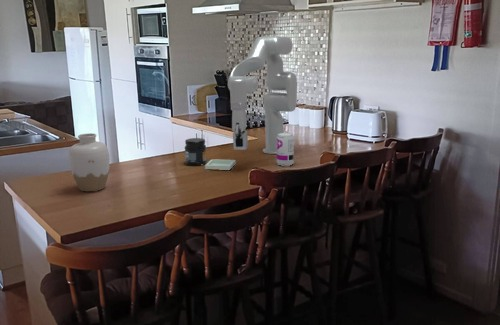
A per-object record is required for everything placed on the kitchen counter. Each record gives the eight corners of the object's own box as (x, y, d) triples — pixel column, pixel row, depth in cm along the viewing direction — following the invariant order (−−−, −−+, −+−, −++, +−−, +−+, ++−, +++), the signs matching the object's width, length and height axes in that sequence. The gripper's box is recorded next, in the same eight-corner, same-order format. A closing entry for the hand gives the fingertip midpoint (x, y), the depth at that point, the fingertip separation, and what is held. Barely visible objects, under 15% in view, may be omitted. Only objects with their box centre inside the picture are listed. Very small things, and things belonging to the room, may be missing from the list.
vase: (98, 181, 213) (93, 130, 208) (119, 187, 203) (115, 133, 198) (64, 190, 201) (58, 136, 196) (86, 197, 192) (80, 140, 186)
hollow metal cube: (236, 146, 228) (235, 130, 226) (247, 146, 227) (247, 130, 225) (233, 149, 223) (232, 133, 220) (245, 149, 222) (244, 133, 219)
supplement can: (280, 167, 230) (280, 136, 227) (274, 163, 238) (274, 133, 234) (296, 165, 232) (296, 135, 229) (290, 161, 240) (290, 132, 236)
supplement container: (209, 161, 244) (208, 138, 241) (202, 166, 234) (201, 142, 231) (190, 160, 247) (189, 137, 244) (182, 165, 237) (180, 141, 234)
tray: (211, 163, 239) (211, 159, 238) (235, 164, 237) (235, 159, 236) (205, 170, 228) (204, 165, 227) (230, 171, 225) (229, 166, 225)
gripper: (235, 103, 228) (236, 140, 233) (226, 109, 212) (228, 149, 217) (250, 102, 227) (252, 140, 232) (243, 109, 210) (245, 149, 215)
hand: (240, 144), depth 224 cm, fingers closed on hollow metal cube, 5 cm apart
